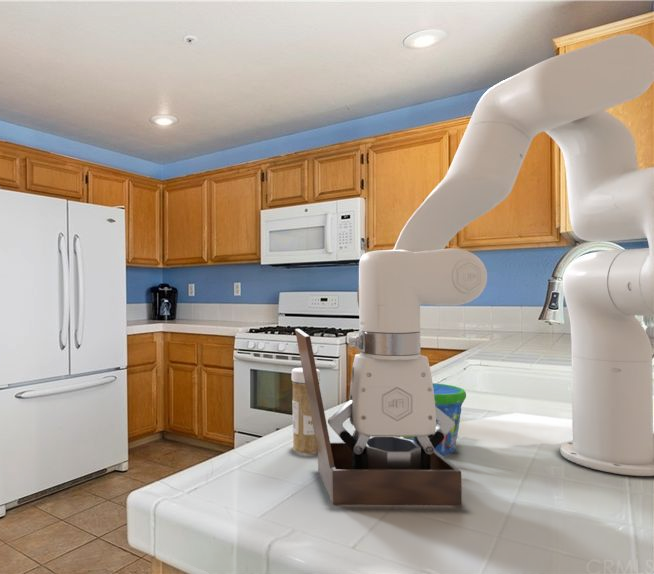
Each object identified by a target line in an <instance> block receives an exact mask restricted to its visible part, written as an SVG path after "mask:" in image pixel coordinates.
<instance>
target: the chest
mask: <svg viewBox="0 0 654 574" xmlns="http://www.w3.org/2000/svg"><path fill="white" fill-rule="evenodd" d="M415 443H416V442H415ZM416 444H417V443H416ZM330 445H331V450H332V455H333V461H334V466H335V467H334V468H330V467H329V465H328V463H327V461H326V459H325V457H324V455H323V453H322V451H321V449H320V447H319V445H318V452H317V471H318V473H319V476H320V478H321V480H322V483H323V485H324V488H325V490H326V492H327V494H328V496H329V499H330V502H331V504H332V505H333V506H453V507H454V506H458V507H459V506H460V507H461V506H462V505H463V496H462V491H463V490H462V484H463V483H462V470H460V469H459V468H458V467H457V466H455V465H454V464H453V463H452V462H451V461H450V460H448V459H447V458H446V457H445V456H444V455H441V454H440V453H438V452H437V451H436V450H435V449H434V453H433V454H431V455H430V468H431V470H389V469H352V449H351V448H350V447H349V446H348V445H347V444H346V443H345V442H344V441H330Z"/></svg>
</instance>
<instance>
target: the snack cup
mask: <svg viewBox="0 0 654 574" xmlns="http://www.w3.org/2000/svg"><path fill="white" fill-rule="evenodd" d="M432 383H433V390H434V399H435V406H436V407H437V408H438V409H439V410H441V411H442V412H443V413H444V414H445V415H447V416H448V417H449V418H450V419H451V420H453V421H454V423H455V425H454V427H453V428H452V429H451V430H450V431H449V433H448V434H447V435H445V436H444V440H443V441H442V442H441V443H440V444H439V445H438V446H437V447H436V448H435V450H436V451H437V452H438V453H440V454H441V455H442V456H444V455H445V456H446V455H449V454H453V453H454V452H455V450H456V448H457V439H458V435H459V429H460V423H461V414H462V406H463V403H464V402H465V400H466V397H467V392H466V390H464V388H462V387H458V386H455V385H451V384H444V383H435V382H432ZM437 424H438V422H437V420H436V425H437ZM402 438H404V439H408V440H413V441H414V442H416V441H415V439H414V437H402Z"/></svg>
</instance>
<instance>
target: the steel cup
mask: <svg viewBox="0 0 654 574" xmlns="http://www.w3.org/2000/svg"><path fill="white" fill-rule="evenodd" d="M364 452H365V454H366V455H367V469H389V470H421V447H420V446H419V445H418V444H416V443H415V442H414V441H413V440H408V439H404V438H403V437H372V436H370V438H369V440H368V442H367V444H366V446H365V448H364Z"/></svg>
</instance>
